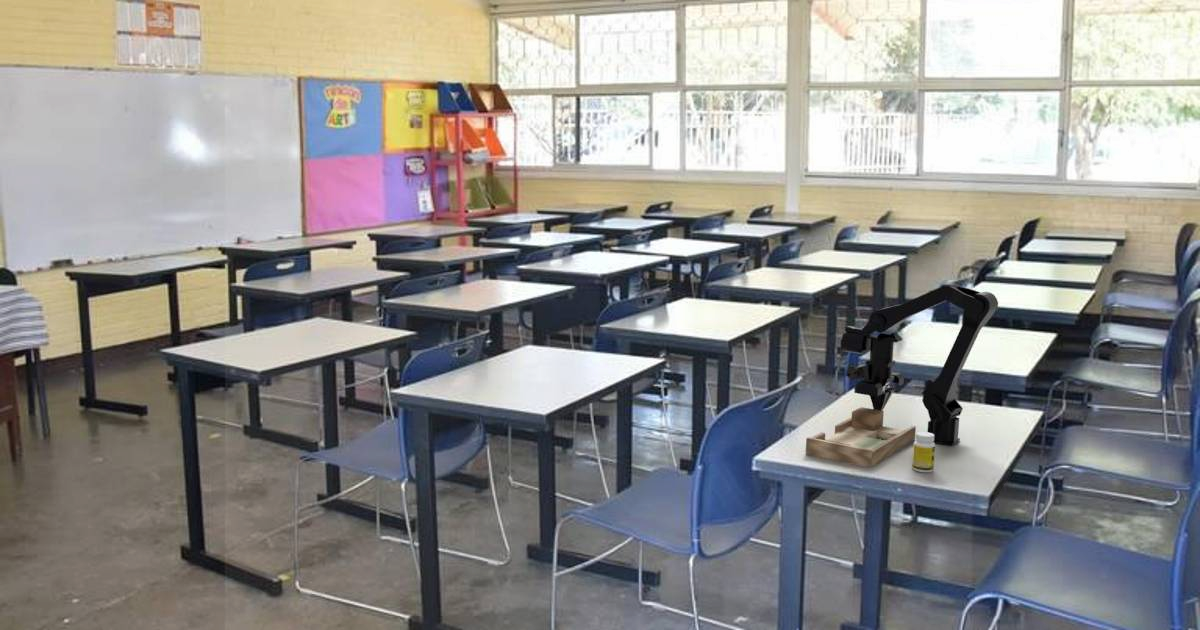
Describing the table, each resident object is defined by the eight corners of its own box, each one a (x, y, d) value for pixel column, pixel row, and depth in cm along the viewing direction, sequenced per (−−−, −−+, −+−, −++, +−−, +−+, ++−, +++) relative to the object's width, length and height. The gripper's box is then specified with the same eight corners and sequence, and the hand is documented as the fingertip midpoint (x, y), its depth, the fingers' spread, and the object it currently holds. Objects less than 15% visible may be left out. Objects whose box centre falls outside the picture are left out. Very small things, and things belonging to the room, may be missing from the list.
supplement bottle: (934, 473, 234) (937, 437, 232) (912, 472, 235) (915, 436, 233) (932, 467, 238) (934, 432, 237) (910, 465, 239) (913, 430, 238)
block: (882, 426, 265) (883, 411, 264) (873, 431, 260) (874, 415, 259) (860, 422, 268) (861, 407, 268) (851, 427, 264) (851, 411, 263)
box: (914, 439, 260) (915, 424, 260) (869, 467, 237) (870, 450, 237) (854, 428, 270) (855, 413, 269) (805, 454, 247) (806, 437, 246)
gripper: (866, 347, 279) (862, 403, 282) (836, 358, 264) (833, 417, 267) (906, 352, 272) (902, 410, 275) (878, 364, 258) (874, 425, 260)
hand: (877, 415), depth 270 cm, fingers closed
